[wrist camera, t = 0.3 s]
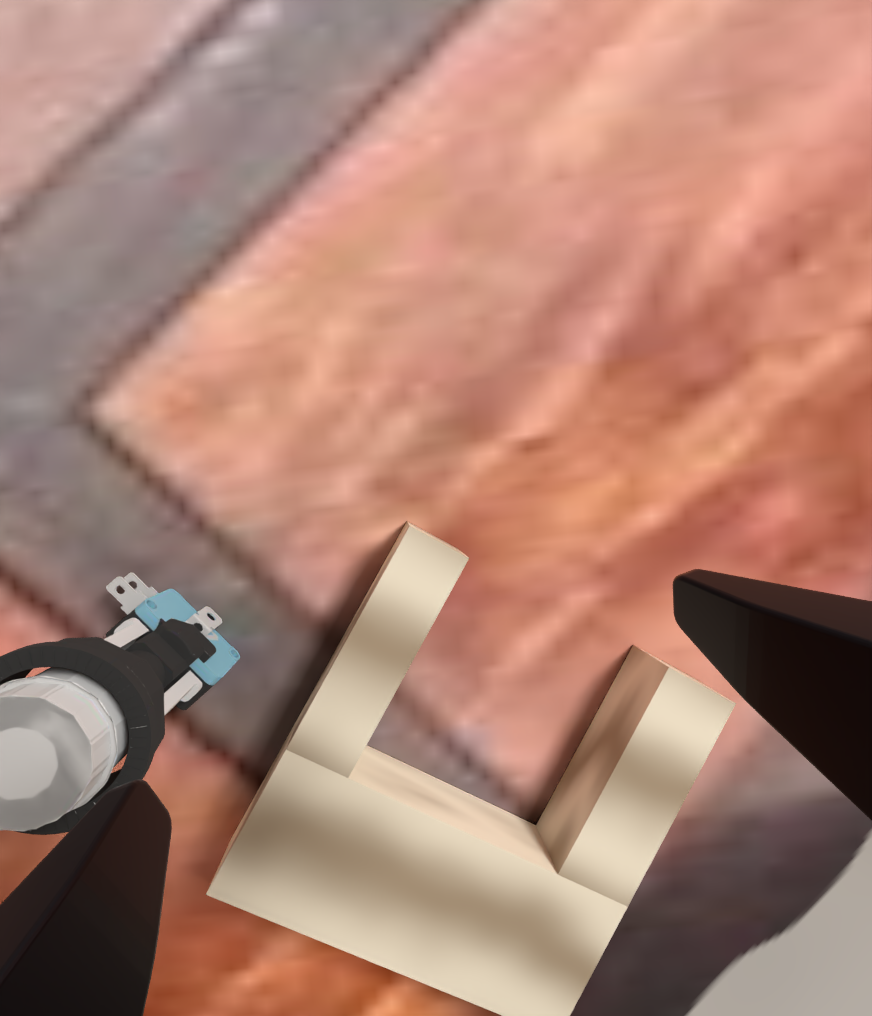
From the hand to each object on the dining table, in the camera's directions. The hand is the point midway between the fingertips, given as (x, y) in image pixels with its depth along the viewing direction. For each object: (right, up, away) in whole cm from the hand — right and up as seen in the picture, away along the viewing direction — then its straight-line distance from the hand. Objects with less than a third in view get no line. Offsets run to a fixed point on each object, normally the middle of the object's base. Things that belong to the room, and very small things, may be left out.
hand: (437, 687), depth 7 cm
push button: (-12, -3, +14) cm, 19 cm away
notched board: (+2, -10, +16) cm, 19 cm away
